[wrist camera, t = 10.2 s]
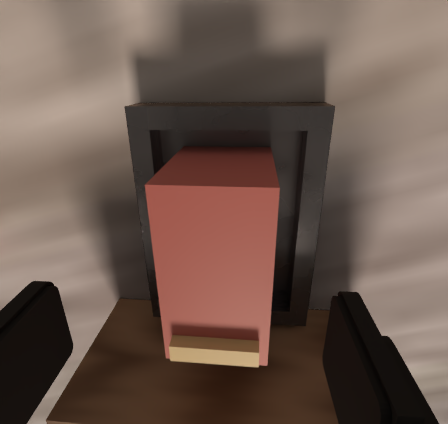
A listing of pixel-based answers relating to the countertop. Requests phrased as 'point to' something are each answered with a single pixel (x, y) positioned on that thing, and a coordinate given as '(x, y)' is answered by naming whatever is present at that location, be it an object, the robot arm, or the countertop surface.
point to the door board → (195, 378)
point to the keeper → (285, 168)
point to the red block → (215, 252)
